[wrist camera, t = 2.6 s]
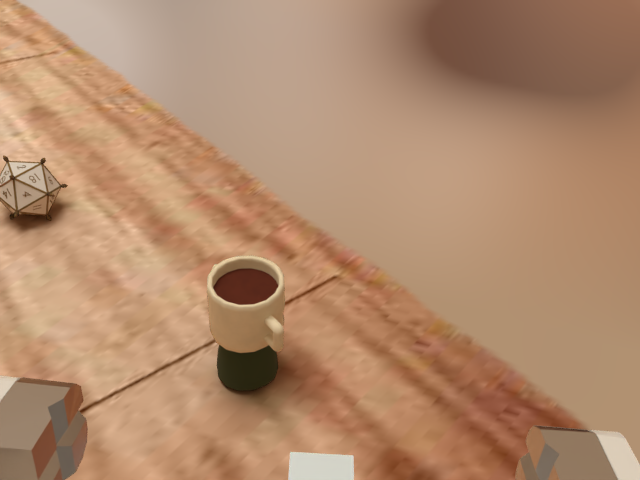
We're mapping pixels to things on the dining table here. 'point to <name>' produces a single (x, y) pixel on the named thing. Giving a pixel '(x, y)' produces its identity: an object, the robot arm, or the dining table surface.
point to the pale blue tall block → (320, 466)
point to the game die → (28, 188)
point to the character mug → (246, 319)
